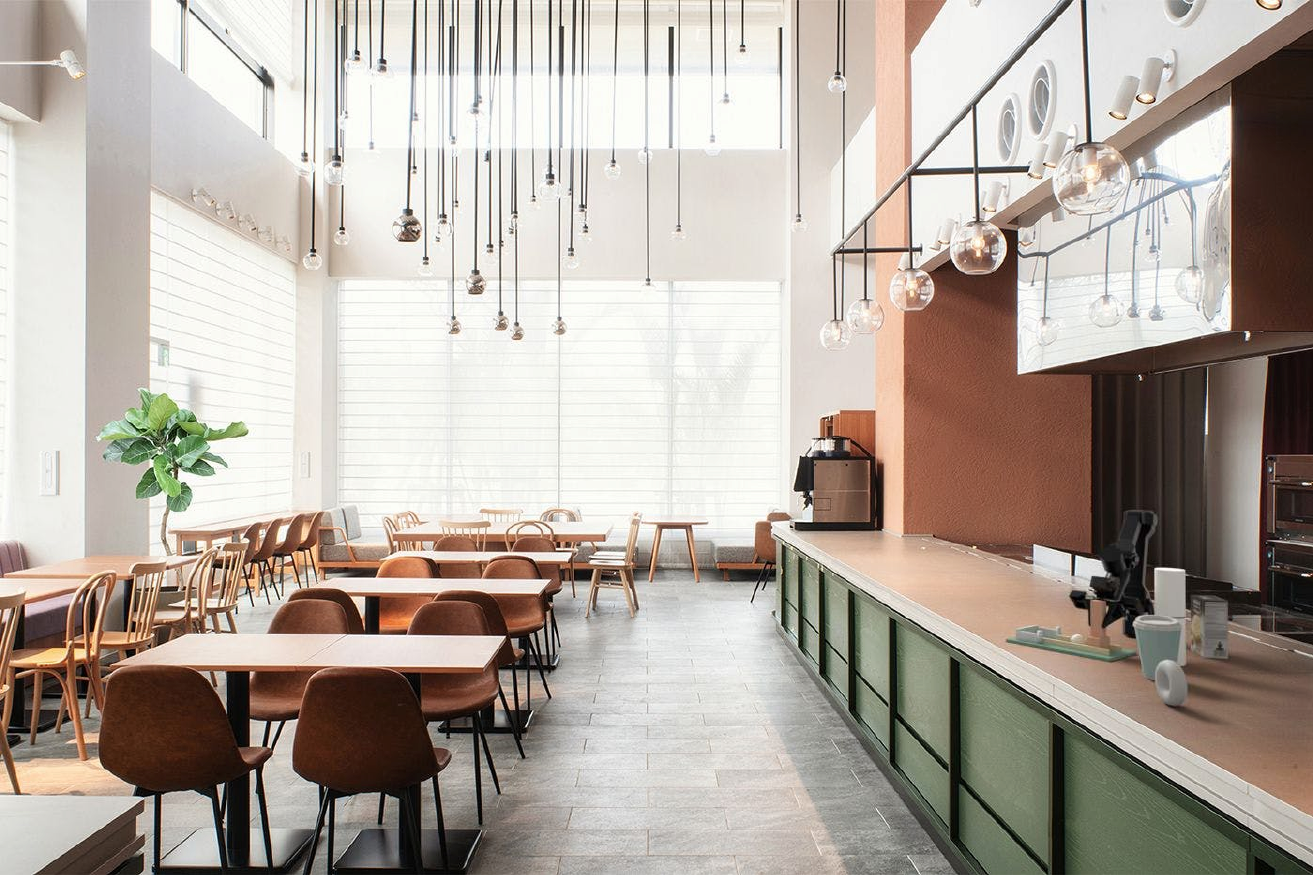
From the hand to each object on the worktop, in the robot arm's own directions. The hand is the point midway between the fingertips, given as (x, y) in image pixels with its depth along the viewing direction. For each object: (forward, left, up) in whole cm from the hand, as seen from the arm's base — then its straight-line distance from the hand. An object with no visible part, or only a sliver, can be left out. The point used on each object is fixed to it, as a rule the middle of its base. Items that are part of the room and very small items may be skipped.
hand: (1095, 626), depth 238 cm
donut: (-3, +50, -8) cm, 51 cm away
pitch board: (+5, -6, -8) cm, 11 cm away
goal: (+13, -12, -8) cm, 19 cm away
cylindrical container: (-17, +6, -8) cm, 19 cm away
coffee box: (-31, -7, -8) cm, 33 cm away
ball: (+4, -5, -5) cm, 8 cm away
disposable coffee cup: (-8, +25, -8) cm, 27 cm away
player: (-1, -1, -6) cm, 7 cm away
